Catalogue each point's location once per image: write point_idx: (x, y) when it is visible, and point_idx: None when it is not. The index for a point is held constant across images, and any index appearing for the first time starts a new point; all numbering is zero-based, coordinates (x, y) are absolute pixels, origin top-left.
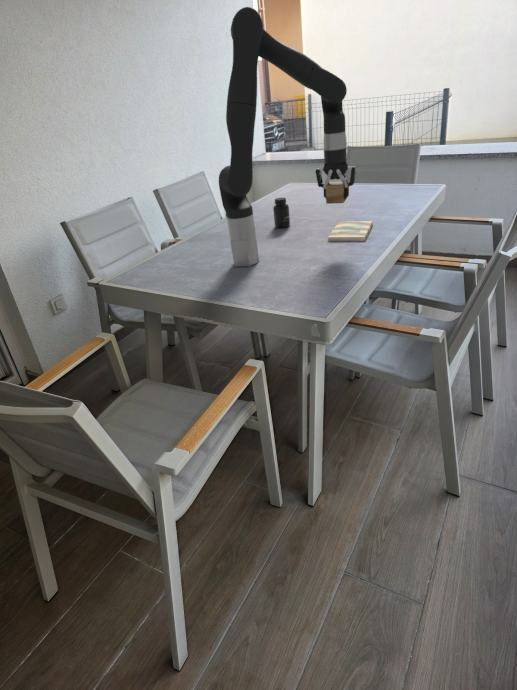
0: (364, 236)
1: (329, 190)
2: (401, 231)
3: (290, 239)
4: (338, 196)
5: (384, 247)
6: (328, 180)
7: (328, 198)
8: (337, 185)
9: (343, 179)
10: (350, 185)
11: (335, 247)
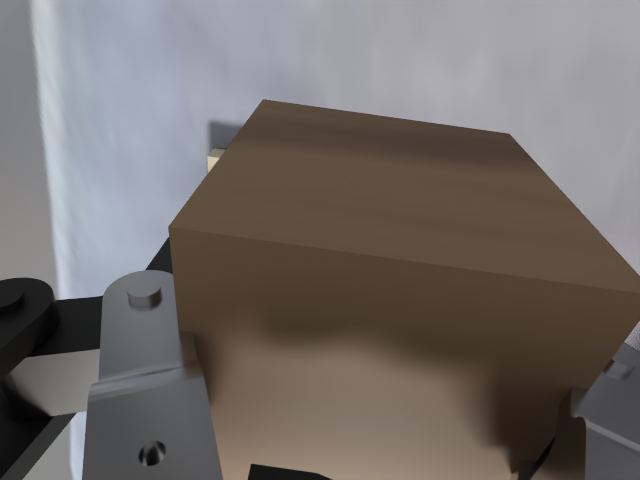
0: (210, 163)
1: (510, 220)
2: (68, 254)
3: (636, 236)
4: (321, 140)
5: (74, 12)
6: (603, 469)
7: (493, 157)
8: (319, 251)
9: (122, 408)
10: (65, 303)
11: (374, 53)
